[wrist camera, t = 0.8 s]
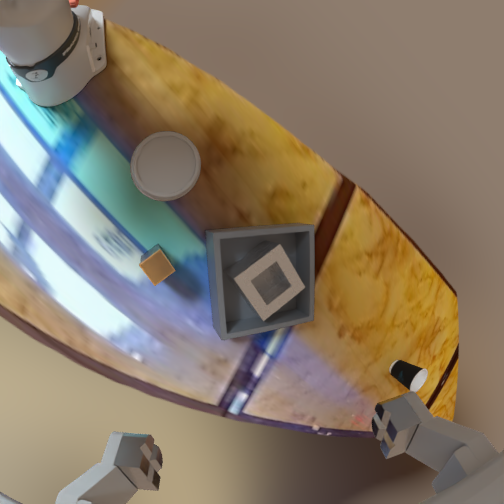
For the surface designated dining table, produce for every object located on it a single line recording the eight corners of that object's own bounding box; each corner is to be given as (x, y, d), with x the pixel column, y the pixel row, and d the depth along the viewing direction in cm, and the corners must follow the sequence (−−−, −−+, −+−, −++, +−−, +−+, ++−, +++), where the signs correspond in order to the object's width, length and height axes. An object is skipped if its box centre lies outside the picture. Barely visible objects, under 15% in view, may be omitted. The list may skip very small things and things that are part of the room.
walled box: (205, 230, 49) (212, 233, 44) (297, 223, 55) (314, 224, 50) (213, 326, 52) (221, 340, 47) (298, 310, 59) (313, 320, 53)
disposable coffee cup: (198, 161, 47) (214, 147, 36) (175, 211, 47) (184, 212, 36) (149, 138, 44) (150, 117, 32) (124, 189, 43) (117, 183, 32)
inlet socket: (223, 270, 51) (233, 278, 45) (265, 240, 53) (280, 243, 47) (251, 309, 54) (263, 321, 48) (289, 279, 56) (305, 287, 50)
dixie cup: (404, 363, 77) (429, 377, 67) (389, 381, 76) (412, 397, 66) (399, 350, 75) (425, 364, 64) (382, 369, 73) (408, 385, 63)
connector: (140, 256, 46) (139, 265, 39) (158, 243, 47) (160, 249, 39) (153, 273, 47) (154, 286, 40) (170, 261, 48) (175, 270, 41)
